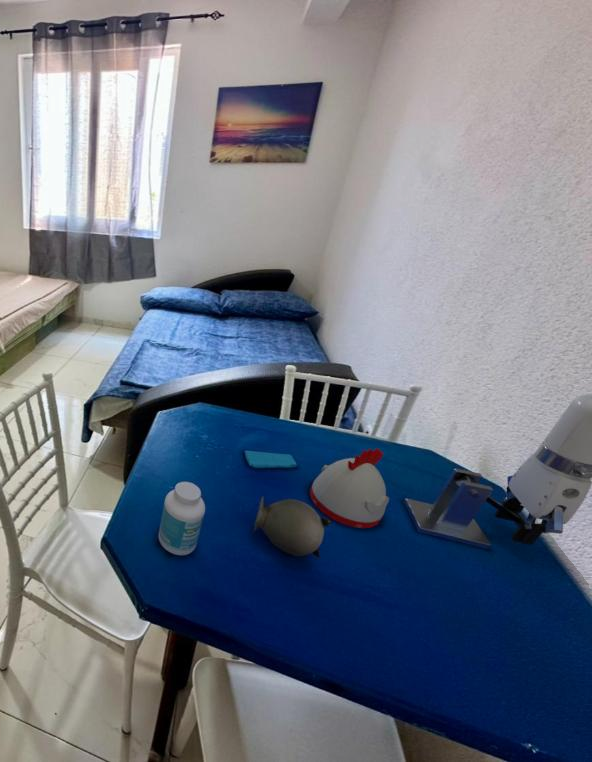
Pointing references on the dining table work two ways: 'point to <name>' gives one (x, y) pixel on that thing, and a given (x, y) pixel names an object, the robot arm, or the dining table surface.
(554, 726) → the dining table surface
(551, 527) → the robot arm
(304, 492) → the dining table surface
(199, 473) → the dining table surface
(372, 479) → the kitchen timer
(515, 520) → the lever
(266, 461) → the sponge
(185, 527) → the pill bottle
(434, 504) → the bracket
